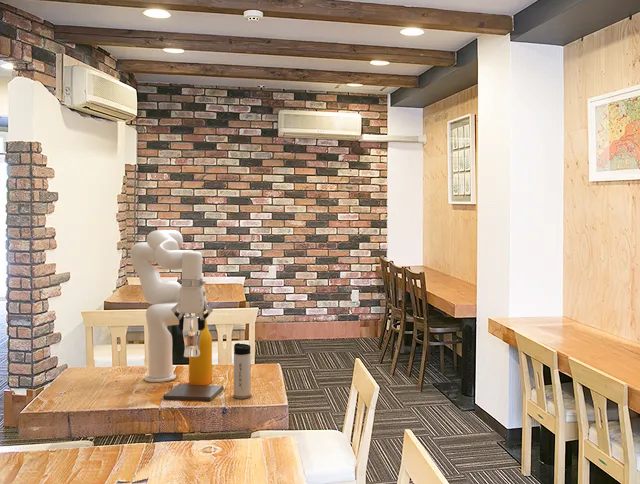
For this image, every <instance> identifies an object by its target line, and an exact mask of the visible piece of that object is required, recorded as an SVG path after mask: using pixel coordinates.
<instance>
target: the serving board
mask: <svg viewBox="0 0 640 484" xmlns="http://www.w3.org/2000/svg"><path fill="white" fill-rule="evenodd" d="M223 390H224V385H216V384H215V385H214V384H208V385H190V384H184V383H183V384H182V383H181V384H177V385H176V386H175V387H173V388H172V389H170V390H169V391H168V392H166V393H165V394H163V396H162V397H163V398H162V400H164V401H194V402H195V401H196V402H197V401H198V402H211V401H212V400H213V399H215V397H217V396H218V395H219V394H220V393H221V392H223Z"/></svg>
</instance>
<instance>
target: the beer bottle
mask: <svg viewBox="0 0 640 484" xmlns="http://www.w3.org/2000/svg"><path fill="white" fill-rule="evenodd" d="M206 313H207V312H206V311H205V312H204V314H206ZM194 316H199V314H198V313H194ZM207 320H208V319H207V318H206V319H205V328H204V330H202V331H201V336H200V342H199V351H200V356H198V357H188V383H189V385H211V384H212V382H213V338H212V334H211V332H210V329H209V327H208V321H207Z"/></svg>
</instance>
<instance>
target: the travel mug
mask: <svg viewBox="0 0 640 484" xmlns="http://www.w3.org/2000/svg"><path fill="white" fill-rule="evenodd" d="M251 357H252V356H251V345H250V344H246V343H240V342H237V343H234V345H233V397H234V398H235V399H239V400H244V399H249V398H250V397H251V385H252V384H251V369H252V368H251V363H252V362H251V360H252V359H251Z"/></svg>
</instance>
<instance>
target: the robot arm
mask: <svg viewBox="0 0 640 484" xmlns="http://www.w3.org/2000/svg"><path fill="white" fill-rule="evenodd" d="M183 243H184V238H183V235H182V233H181V232H180V231H179V230H175V229H156V230H153V231H150V232H149V234H147V237H146V241H143V242H141V241H140V242H137V243H135V244H133V245H132V246H131V248H130V256H129V257H130V262H131V266H132V268H133V269H134V271H135V272H136V275H137V277H138V279H139V282H140V286H141V290H142V293H143V297H144V299H145V302H147V303H148V304H150V306H149V307H147V309H146V310H145V319H146V325H147V333H148V334H147V335H148V336H147V337H148V338H147V339H148V374H146V375H145V376H144V380H145V382H149V383H164V382H170V381H173V380H175V379H177V374H176V373H174V372H173V369H174V368H175V365H174V364H173V335H172V333H171V332H170V330H169V329H168V328H167V327H170V326H177V325H178V328H179V330H180V331H183V317H185V316H190V314H195V313H198V314H199V316H200V318H201V320H200V331H202V330H204V328H205V319H207V318H208V317H209V316H210V315H211V313H212V312H213V311H214V308H212V307H211V306H210V305H209V304H207V303H208V302H207V295H206V287H205V286H203V285H206V284H207V282H206V280H204V278H203V254H202V252H200V251H196V250H193V249H181V248H182V246H183ZM150 262H156V263H157V265H158V266H160V268H162V269H164V270H167V271H171V270H173V271H174V270H181V284H180V282H179V281H177V280H163V279H162V276H161V274H160V272H159V270H158V269H157V267H155V266H154V265H153V264H152V263H150ZM204 312H205V313H206V314H204Z"/></svg>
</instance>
